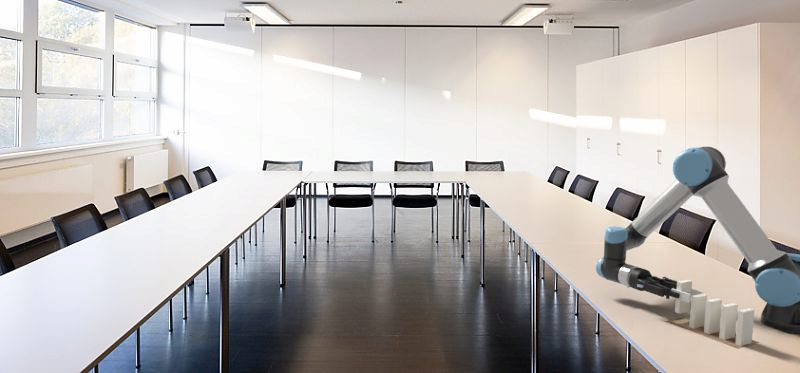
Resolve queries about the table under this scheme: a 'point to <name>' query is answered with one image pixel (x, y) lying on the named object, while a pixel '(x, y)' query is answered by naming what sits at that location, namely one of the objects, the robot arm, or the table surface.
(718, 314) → the domino
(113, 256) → the table surface
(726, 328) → the domino
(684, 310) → the domino
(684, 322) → the board
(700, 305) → the domino
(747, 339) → the domino
